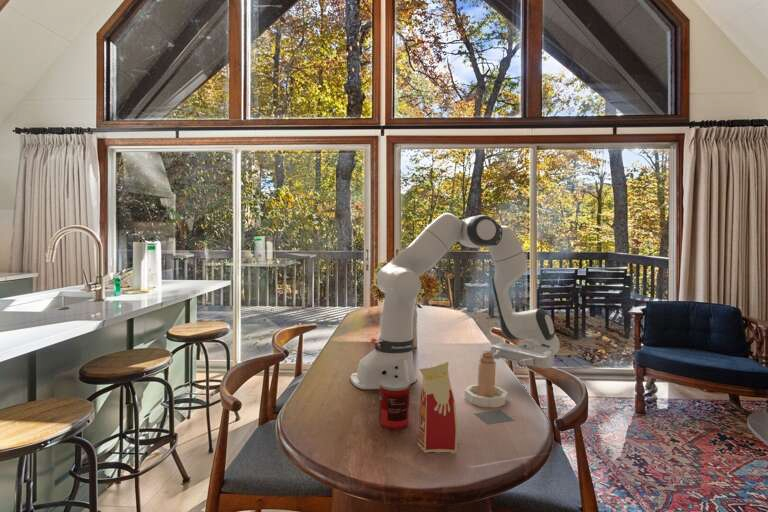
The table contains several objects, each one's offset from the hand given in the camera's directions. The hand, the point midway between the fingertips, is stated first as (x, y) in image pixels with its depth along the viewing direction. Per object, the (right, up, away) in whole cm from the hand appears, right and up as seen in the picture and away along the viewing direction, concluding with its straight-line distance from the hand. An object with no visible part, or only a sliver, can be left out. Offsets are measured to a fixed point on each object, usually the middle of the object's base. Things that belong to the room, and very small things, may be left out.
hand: (508, 359), depth 138 cm
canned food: (-37, -11, -24) cm, 46 cm away
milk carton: (-27, -12, -34) cm, 46 cm away
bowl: (-9, -10, -7) cm, 16 cm away
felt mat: (-10, -11, -20) cm, 25 cm away
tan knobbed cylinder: (-9, -10, -7) cm, 15 cm away
